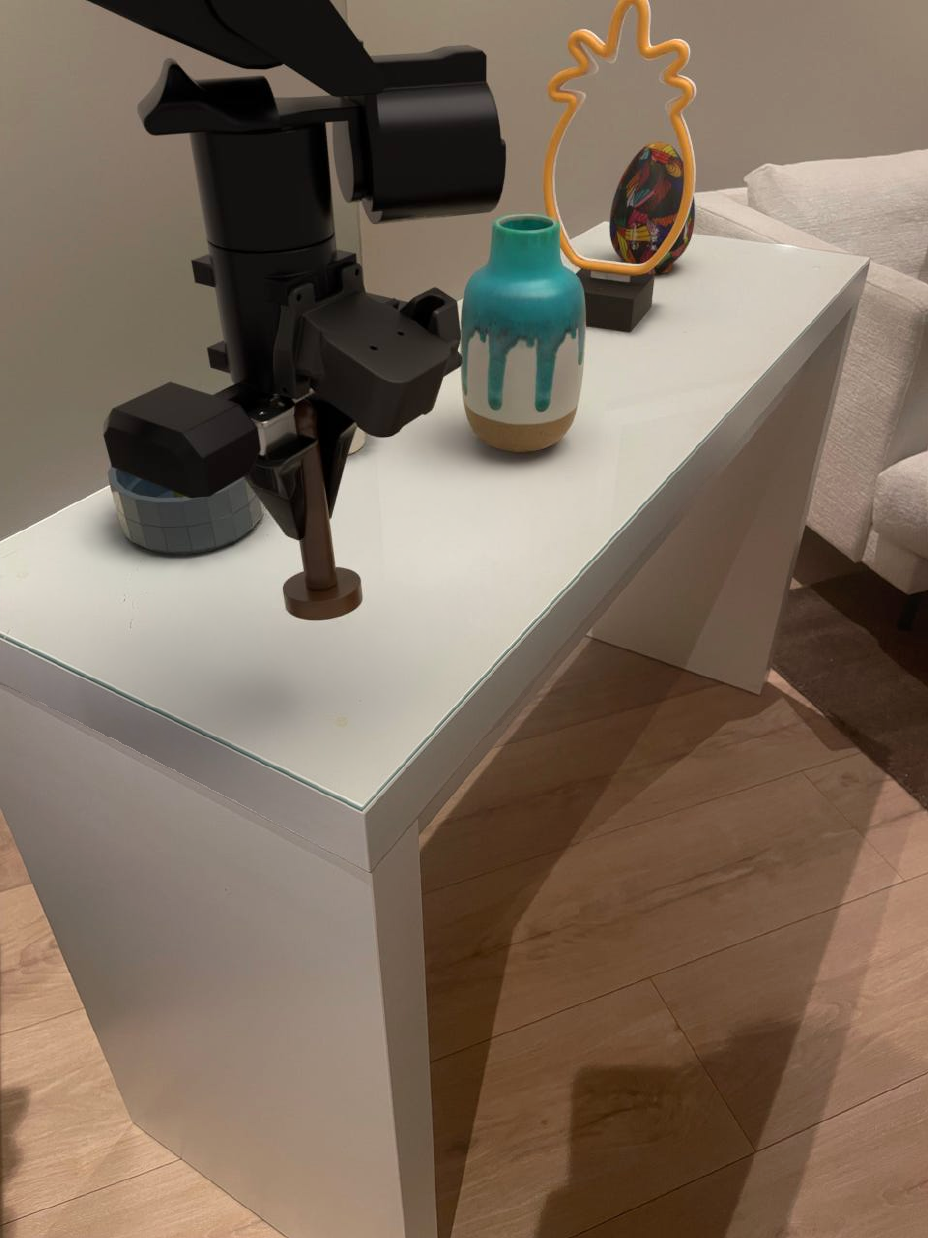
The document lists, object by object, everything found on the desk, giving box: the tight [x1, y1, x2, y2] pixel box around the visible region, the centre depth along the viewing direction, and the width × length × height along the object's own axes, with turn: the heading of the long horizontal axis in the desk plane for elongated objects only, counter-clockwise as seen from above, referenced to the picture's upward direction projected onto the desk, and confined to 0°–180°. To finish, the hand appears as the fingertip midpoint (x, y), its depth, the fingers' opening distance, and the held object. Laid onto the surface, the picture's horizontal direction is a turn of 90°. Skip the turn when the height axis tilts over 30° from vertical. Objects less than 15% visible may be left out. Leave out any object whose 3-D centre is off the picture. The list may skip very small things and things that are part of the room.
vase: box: [459, 213, 587, 453], centre depth 81 cm, size 11×11×19 cm
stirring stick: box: [282, 398, 364, 622], centre depth 51 cm, size 4×4×12 cm
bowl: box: [107, 465, 265, 556], centre depth 75 cm, size 11×11×5 cm
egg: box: [608, 141, 696, 276], centre depth 120 cm, size 11×11×15 cm
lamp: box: [542, 0, 697, 333], centre depth 102 cm, size 17×9×32 cm, turn 66°
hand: (308, 528), depth 52 cm, fingers closed on stirring stick, 2 cm apart
